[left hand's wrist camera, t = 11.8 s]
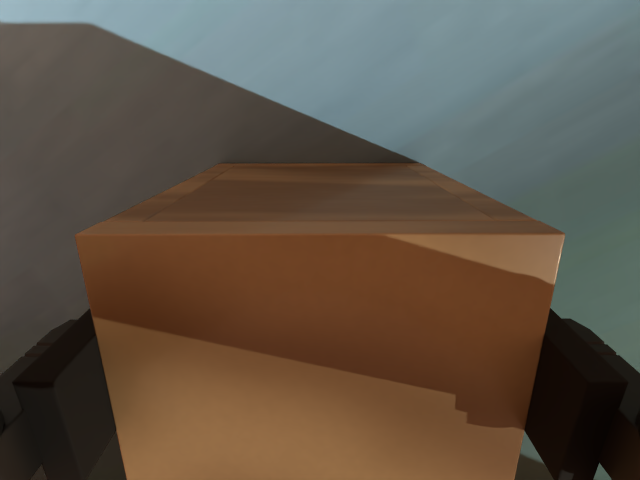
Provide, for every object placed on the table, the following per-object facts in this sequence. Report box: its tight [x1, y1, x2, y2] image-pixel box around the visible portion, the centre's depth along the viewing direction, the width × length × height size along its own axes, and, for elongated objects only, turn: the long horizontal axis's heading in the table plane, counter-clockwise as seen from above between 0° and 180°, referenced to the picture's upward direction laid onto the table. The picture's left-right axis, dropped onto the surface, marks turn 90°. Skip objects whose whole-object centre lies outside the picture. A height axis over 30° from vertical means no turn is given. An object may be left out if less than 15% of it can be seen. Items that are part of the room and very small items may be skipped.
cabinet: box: [75, 163, 565, 480], centre depth 17 cm, size 21×10×12 cm, turn 0°
